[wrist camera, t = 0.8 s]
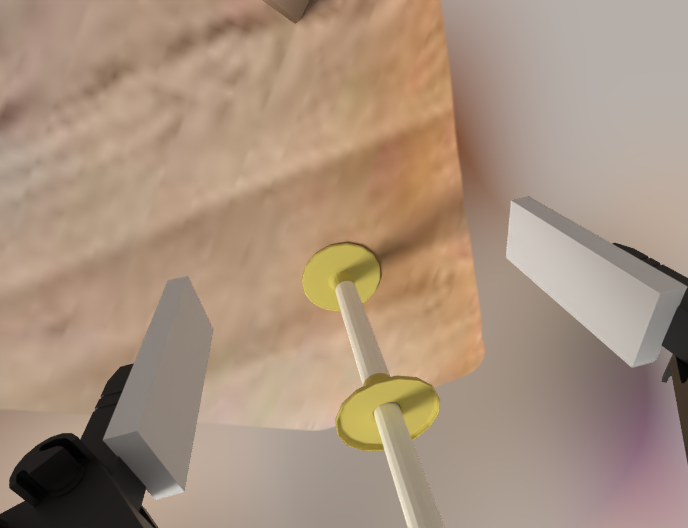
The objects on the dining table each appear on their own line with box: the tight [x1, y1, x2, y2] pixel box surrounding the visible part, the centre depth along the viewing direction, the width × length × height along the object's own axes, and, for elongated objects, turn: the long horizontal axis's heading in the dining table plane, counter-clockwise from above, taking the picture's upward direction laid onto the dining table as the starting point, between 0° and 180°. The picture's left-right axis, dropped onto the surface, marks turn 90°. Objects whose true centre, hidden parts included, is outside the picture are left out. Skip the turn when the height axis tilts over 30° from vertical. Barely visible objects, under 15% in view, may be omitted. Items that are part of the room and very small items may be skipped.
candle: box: [302, 243, 445, 528], centre depth 30 cm, size 10×10×38 cm
